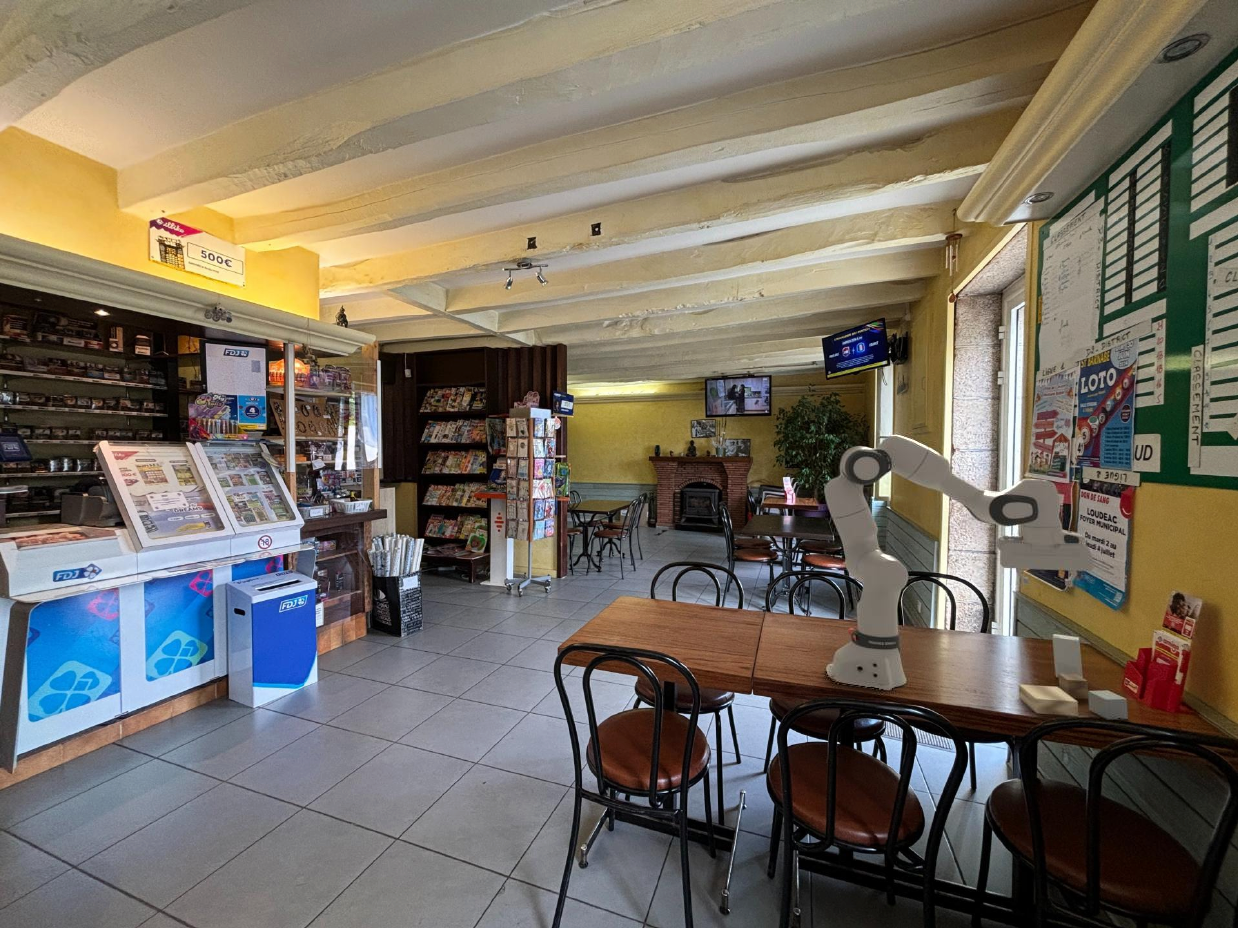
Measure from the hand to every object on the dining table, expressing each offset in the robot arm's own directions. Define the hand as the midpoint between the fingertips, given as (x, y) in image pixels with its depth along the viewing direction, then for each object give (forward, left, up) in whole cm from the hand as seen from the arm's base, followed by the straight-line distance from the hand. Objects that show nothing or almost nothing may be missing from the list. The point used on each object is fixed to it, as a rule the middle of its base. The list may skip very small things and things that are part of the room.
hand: (1046, 585), depth 143 cm
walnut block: (+5, 0, -30) cm, 31 cm away
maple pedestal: (-5, -9, -31) cm, 32 cm away
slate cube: (+7, -11, -30) cm, 33 cm away
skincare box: (+10, +13, -30) cm, 34 cm away
